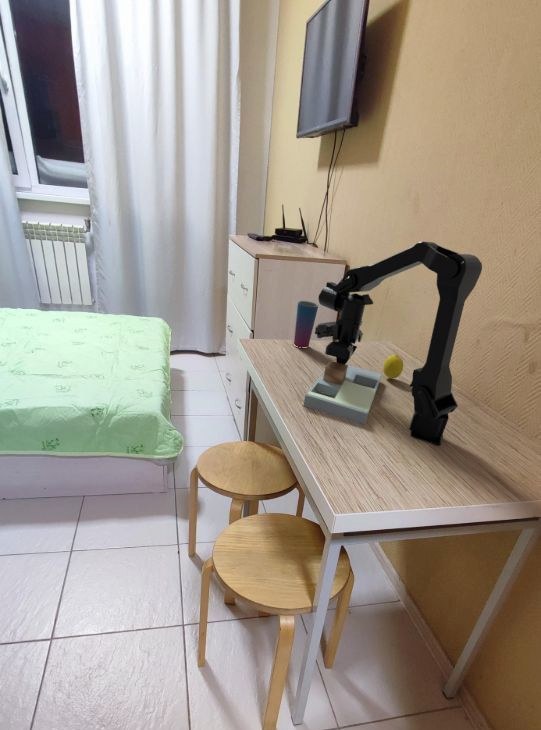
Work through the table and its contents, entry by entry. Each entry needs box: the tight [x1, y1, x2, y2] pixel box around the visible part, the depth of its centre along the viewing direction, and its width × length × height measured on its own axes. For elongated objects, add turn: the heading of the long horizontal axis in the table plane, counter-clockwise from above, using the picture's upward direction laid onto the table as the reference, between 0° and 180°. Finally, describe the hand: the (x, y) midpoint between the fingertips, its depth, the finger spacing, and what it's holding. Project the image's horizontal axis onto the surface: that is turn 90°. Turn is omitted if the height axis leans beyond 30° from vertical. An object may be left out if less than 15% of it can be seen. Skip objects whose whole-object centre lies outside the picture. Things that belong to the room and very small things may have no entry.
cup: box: [293, 300, 319, 347], centre depth 127 cm, size 7×7×15 cm
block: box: [323, 360, 349, 385], centre depth 102 cm, size 5×5×4 cm
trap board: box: [303, 360, 382, 425], centre depth 101 cm, size 15×27×3 cm, turn 157°
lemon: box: [382, 354, 404, 380], centre depth 112 cm, size 6×6×8 cm
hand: (339, 370), depth 106 cm, fingers closed
